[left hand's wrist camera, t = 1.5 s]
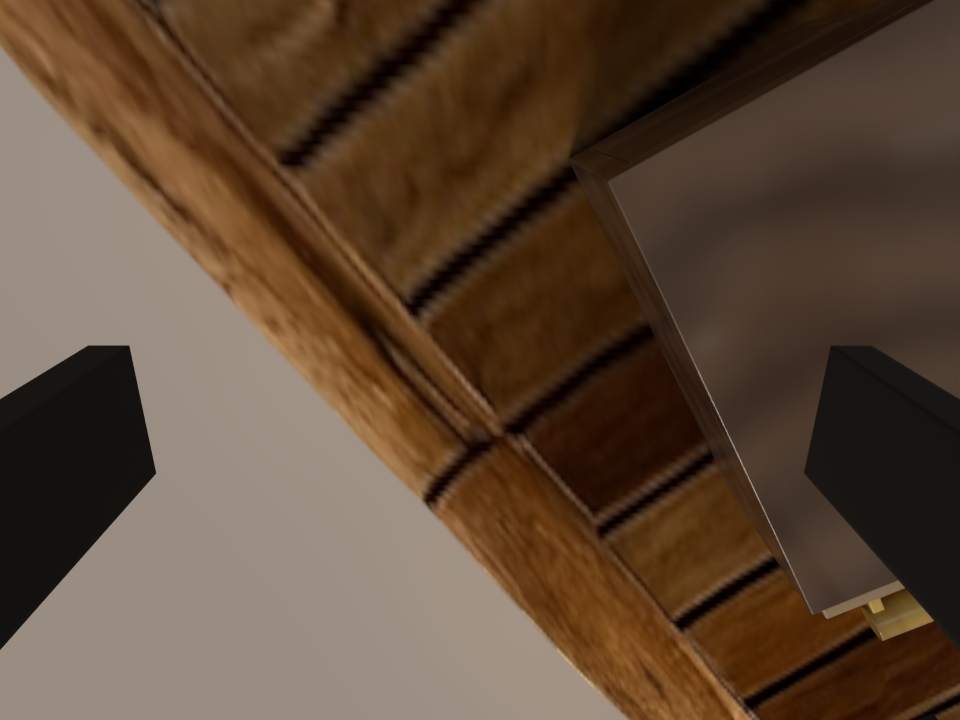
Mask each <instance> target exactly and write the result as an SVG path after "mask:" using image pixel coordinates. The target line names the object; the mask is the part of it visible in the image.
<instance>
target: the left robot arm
mask: <svg viewBox="0 0 960 720" xmlns="http://www.w3.org/2000/svg"><path fill="white" fill-rule="evenodd" d="M155 474H156V470H155V466H154V461H153V456H152V451H151V447H150V442H149V437H148V432H147V428H146V423H145V418H144V413H143V409H142V404H141V399H140V395H139V390H138V385H137V380H136V376H135V371H134V366H133V361H132V356H131V352H130V347H129V346H87V347H85V348H84V349H82V350H80V351H79V352H77V353H75V354H74V355H72V356H70V357H69V358H67V359H65V360H64V361H62V362H61V363H59V364H57V365H56V366H54V367H52V368H51V369H49V370H47V371H46V372H44V373H43V374H41V375H39V376H38V377H36V378H34V379H33V380H31V381H29V382H28V383H26V384H24V385H23V386H21V387H19V388H18V389H16V390H15V391H13V392H11V393H10V394H8V395H6V396H5V397H3V398H2V399H0V649H1V648H2V647H3V646H4V645H5V644H6V643H7V642H8V640H9V639H10V638H11V637H12V636H13V635H14V634H15V632H16V631H17V630H18V629H19V628H20V627H21V626H22V625H23V623H24V622H25V621H26V620H27V619H28V618H29V617H30V616H31V614H32V613H33V612H34V611H35V610H36V609H37V608H38V607H39V605H40V604H41V603H42V602H43V601H44V600H45V599H46V597H47V596H48V595H49V594H50V593H51V592H52V591H53V589H54V588H55V587H56V586H57V585H58V584H59V583H60V582H61V580H62V579H63V578H64V577H65V576H66V575H67V574H68V573H69V571H70V570H71V569H72V568H73V567H74V566H75V565H76V563H77V562H78V561H79V560H80V559H81V558H82V557H83V556H84V554H85V553H86V552H87V551H88V550H89V549H90V548H91V547H92V545H93V544H94V543H95V542H96V541H97V540H98V539H99V537H100V536H101V535H102V534H103V533H104V532H105V531H106V530H107V528H108V527H109V526H110V525H111V524H112V523H113V522H114V520H115V519H116V518H117V517H118V516H119V515H120V514H121V513H122V511H123V510H124V509H125V508H126V507H127V506H128V505H129V504H130V502H131V501H132V500H133V499H134V498H135V497H136V496H137V494H138V493H139V492H140V491H141V490H142V489H143V488H144V487H145V485H146V484H147V483H148V482H149V481H150V480H151V479H152V477H153V476H154V475H155ZM804 474H805V475H806V476H807V478H808V479H809V480H810V481H811V482H812V483H813V484H814V485H815V487H816V488H817V489H818V490H819V491H820V492H821V493H822V495H823V496H824V497H825V498H826V499H827V500H828V501H829V502H830V504H831V505H832V506H833V507H834V508H835V509H836V510H837V511H838V513H839V514H840V515H841V516H842V517H843V518H844V519H845V521H846V522H847V523H848V524H849V525H850V526H851V527H852V528H853V530H854V531H855V532H856V533H857V534H858V535H859V536H860V537H861V539H862V540H863V541H864V542H865V543H866V544H867V545H868V547H869V548H870V549H871V550H872V551H873V552H874V553H875V554H876V556H877V557H878V558H879V559H880V560H881V561H882V562H883V564H884V565H885V566H886V567H887V568H888V569H889V570H890V571H891V573H892V574H893V575H894V576H895V577H896V578H897V579H898V580H899V582H900V583H901V584H902V585H903V586H904V587H905V588H906V590H907V591H908V592H909V593H910V594H911V595H912V596H913V597H914V599H915V600H916V601H917V602H918V603H919V604H920V605H921V607H922V608H923V609H924V610H925V611H926V612H927V613H928V614H929V616H930V617H931V618H932V619H933V620H934V621H935V622H936V623H937V625H938V626H939V627H940V628H941V629H942V630H943V631H944V633H945V634H946V635H947V636H948V637H949V638H950V639H951V640H952V642H953V643H954V644H955V645H956V646H957V647H958V648H959V649H960V399H959V398H957V397H955V396H954V395H952V394H950V393H949V392H947V391H945V390H944V389H942V388H941V387H939V386H937V385H936V384H934V383H932V382H931V381H929V380H927V379H926V378H924V377H922V376H921V375H919V374H918V373H916V372H914V371H913V370H911V369H909V368H908V367H906V366H904V365H903V364H901V363H899V362H898V361H896V360H895V359H893V358H891V357H890V356H888V355H886V354H885V353H883V352H881V351H880V350H878V349H876V348H875V347H873V346H831V347H830V352H829V356H828V361H827V366H826V371H825V375H824V380H823V385H822V390H821V394H820V399H819V404H818V409H817V413H816V418H815V423H814V428H813V432H812V437H811V442H810V447H809V451H808V456H807V461H806V466H805V470H804Z"/></svg>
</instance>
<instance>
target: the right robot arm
mask: <svg viewBox="0 0 960 720" xmlns="http://www.w3.org/2000/svg"><path fill="white" fill-rule="evenodd" d="M917 720H938V719H937V718H936V717H935V715H934V714H931V715H929V716H926V717H923V718H920V719H917Z"/></svg>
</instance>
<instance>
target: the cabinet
mask: <svg viewBox="0 0 960 720" xmlns="http://www.w3.org/2000/svg"><path fill="white" fill-rule="evenodd" d="M569 162H570V164H571V166H572V168H573V170H574V172H575V174H576V176H577V178H578V180H579V182H580V184H581V186H582V188H583V190H584V193H585V195H586V197H587V199H588V201H589V203H590V205H591V207H592V209H593V211H594V213H595V215H596V217H597V219H598V221H599V223H600V225H601V227H602V229H603V231H604V233H605V236H606V238H607V240H608V242H609V244H610V246H611V248H612V250H613V252H614V254H615V256H616V258H617V260H618V262H619V264H620V266H621V268H622V270H623V272H624V274H625V277H626V279H627V281H628V283H629V285H630V287H631V289H632V291H633V293H634V295H635V297H636V299H637V301H638V303H639V305H640V307H641V309H642V311H643V313H644V315H645V318H646V320H647V322H648V324H649V326H650V328H651V330H652V332H653V334H654V336H655V338H656V340H657V342H658V344H659V346H660V348H661V350H662V352H663V354H664V356H665V359H666V361H667V363H668V365H669V367H670V369H671V371H672V373H673V375H674V377H675V379H676V381H677V383H678V385H679V387H680V389H681V391H682V393H683V395H684V397H685V399H686V402H687V404H688V406H689V408H690V410H691V412H692V414H693V416H694V418H695V420H696V422H697V424H698V426H699V428H700V430H701V432H702V434H703V436H704V438H705V440H706V443H707V445H708V447H709V449H710V451H711V453H712V455H713V457H714V459H715V461H716V463H717V465H718V467H719V469H720V471H721V473H722V475H723V477H724V479H725V481H726V484H727V486H728V488H729V490H730V491H731V493H732V494H733V496H734V497H735V498H736V500H737V502H738V503H739V505H740V506H741V508H742V509H743V511H744V512H745V514H746V515H747V517H748V518H749V520H750V521H751V523H752V524H753V526H754V527H755V529H756V531H757V532H758V534H759V535H760V537H761V538H762V540H763V541H764V543H765V544H766V546H767V547H768V549H769V550H770V552H771V553H772V555H773V556H774V558H775V559H776V561H777V562H778V564H779V565H780V567H781V568H782V570H783V571H784V573H785V575H786V576H787V578H788V579H789V581H790V582H791V584H792V585H793V587H794V588H795V590H796V591H797V593H798V594H799V595H800V597H801V599H802V600H803V602H804V603H805V605H806V606H807V608H808V610H809V611H810V613H811V614H816V613H818V612H821V611H823V610H826V609H828V608H831V607H833V606H836V605H838V604H841V603H843V602H846V601H848V600H851V599H853V598H856V597H858V596H861V595H863V594H866V593H868V592H871V591H873V590H876V589H878V588H881V587H883V586H886V585H888V584H891V583H893V582H896V581H898V579H897V578H896V577H895V576H894V575H893V574H892V573H891V571H890V570H889V569H888V568H887V567H886V566H885V565H884V564H883V562H882V561H881V560H880V559H879V558H878V557H877V556H876V554H875V553H874V552H873V551H872V550H871V549H870V548H869V547H868V545H867V544H866V543H865V542H864V541H863V540H862V539H861V537H860V536H859V535H858V534H857V533H856V532H855V531H854V530H853V528H852V527H851V526H850V525H849V524H848V523H847V522H846V521H845V519H844V518H843V517H842V516H841V515H840V514H839V513H838V511H837V510H836V509H835V508H834V507H833V506H832V505H831V504H830V502H829V501H828V500H827V499H826V498H825V497H824V496H823V495H822V493H821V492H820V491H819V490H818V489H817V488H816V487H815V485H814V484H813V483H812V482H811V481H810V480H809V479H808V478H807V476H806V475H805V474H804V470H805V466H806V461H807V456H808V451H809V447H810V442H811V437H812V432H813V428H814V423H815V418H816V413H817V409H818V404H819V399H820V394H821V390H822V385H823V380H824V375H825V371H826V366H827V361H828V356H829V352H830V347H831V346H873V347H875V348H876V349H878V350H880V351H881V352H883V353H885V354H886V355H888V356H890V357H891V358H893V359H895V360H896V361H898V362H899V363H901V364H903V365H904V366H906V367H908V368H909V369H911V370H913V371H914V372H916V373H918V374H919V375H921V376H922V377H924V378H926V379H927V380H929V381H931V382H932V383H934V384H936V385H937V386H939V387H941V388H942V389H944V390H945V391H947V392H949V393H950V394H952V395H954V396H955V397H957V398H959V399H960V0H888V1H884V2H881V3H877V4H873V5H869V6H865V7H862V8H858V9H854V10H850V11H846V12H843V13H839V14H835V15H831V16H827V17H824V18H821V19H817V20H813V21H810V22H808V23H807V24H805V25H803V26H801V27H800V28H798V29H796V30H794V31H793V32H791V33H789V34H787V35H786V36H784V37H782V38H780V39H779V40H777V41H775V42H773V43H771V44H770V45H768V46H766V47H764V48H763V49H761V50H759V51H757V52H756V53H754V54H752V55H750V56H749V57H747V58H745V59H743V60H742V61H740V62H738V63H736V64H735V65H733V66H731V67H729V68H728V69H726V70H724V71H722V72H721V73H719V74H717V75H715V76H713V77H712V78H710V79H708V80H706V81H705V82H703V83H701V84H699V85H698V86H696V87H694V88H692V89H691V90H689V91H687V92H685V93H684V94H682V95H680V96H678V97H677V98H675V99H673V100H671V101H670V102H668V103H666V104H664V105H663V106H661V107H659V108H657V109H655V110H654V111H652V112H650V113H648V114H647V115H645V116H643V117H641V118H640V119H638V120H636V121H634V122H633V123H631V124H629V125H627V126H626V127H624V128H622V129H620V130H619V131H617V132H615V133H613V134H612V135H610V136H608V137H606V138H605V139H603V140H601V141H599V142H597V143H596V144H594V145H592V146H590V147H589V148H587V149H585V150H583V151H582V152H580V153H578V154H576V155H575V156H573V157H571V158H570V159H569Z"/></svg>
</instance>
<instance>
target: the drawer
mask: <svg viewBox="0 0 960 720" xmlns="http://www.w3.org/2000/svg"><path fill="white" fill-rule="evenodd" d="M903 588H905V587H904V586H903V585H902V584H901V583H900V582H899V580H898V581H896V582H893V583H891V584H888V585H886V586H883V587H881V588H878V589H876V590H873V591H871V592H868V593H866V594H863V595H861V596H858V597H856V598H853V599H851V600H848V601H846V602H843V603H841V604H838V605H836V606H833V607H831V608H828V609H826V610H823V611H821V612H822V613H823V615H824V616H825V617H826V618H831V617H833V616H836V615H838V614H841V613H843V612H846V611H848V610H851V609H853V608H856V607H858V606H861V605H863V604H867V605H864V606H862V607H861V608H862V612H863V614H864V616H865V618H866V619H867V621H868V623H869V625H870V626H871V628H872V629H873V631H874V632H875V633H876V635H877V636H878V637H879V638H880V639H881V640H883V641H884V640H886V639H889V638H891V637H894V636H897V635H899V634H902V633H904V632H907V631H910V630H912V629H915V628H917V627H920V626H922V625H925V624H928V623H930V622H933V621H934V620H933V619H932V618H931V617H930V616H929V614H928V613H927V612H926V611H925V610H924V609H923V608H922V607H921V605H920V604H919V603H918V602H917V601H916V600H915V599H914V597H913V596H912V595H911V594H910V593H909V592H908V591H907V590H906V589H905V590H902V591H900V592H897V593H895V594H892V595H889V596H887V597H884V598H882V599H881V597H883V596H886V595H888V594H891V593H893V592H896V591H898V590H901V589H903Z"/></svg>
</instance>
